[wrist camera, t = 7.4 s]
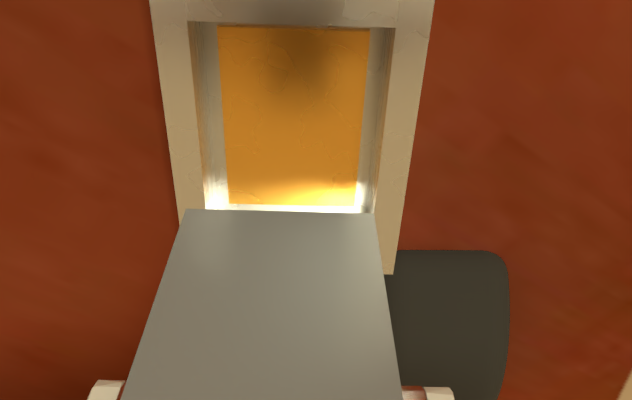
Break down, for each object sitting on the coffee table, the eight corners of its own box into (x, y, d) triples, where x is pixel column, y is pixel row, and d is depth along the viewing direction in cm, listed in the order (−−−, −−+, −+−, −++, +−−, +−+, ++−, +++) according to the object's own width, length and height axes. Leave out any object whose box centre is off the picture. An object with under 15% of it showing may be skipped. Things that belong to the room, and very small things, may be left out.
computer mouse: (357, 400, 31) (362, 469, 27) (370, 245, 24) (379, 310, 21) (468, 401, 31) (487, 469, 27) (510, 246, 24) (541, 311, 21)
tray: (117, -504, 12) (-50, -783, 6) (480, -484, 12) (617, -739, 7) (198, 225, 23) (163, 347, 18) (385, 230, 23) (406, 352, 18)
